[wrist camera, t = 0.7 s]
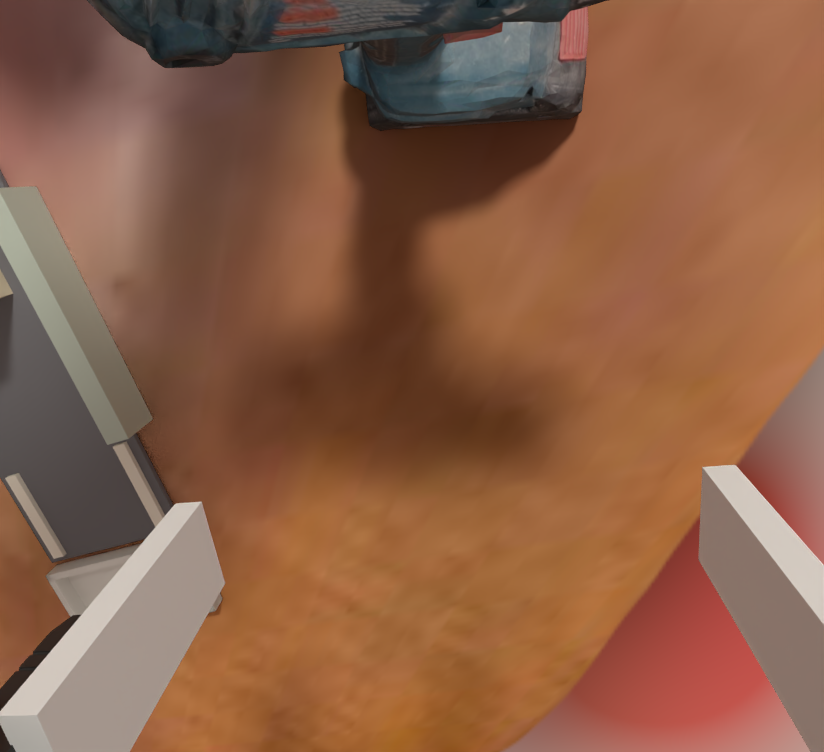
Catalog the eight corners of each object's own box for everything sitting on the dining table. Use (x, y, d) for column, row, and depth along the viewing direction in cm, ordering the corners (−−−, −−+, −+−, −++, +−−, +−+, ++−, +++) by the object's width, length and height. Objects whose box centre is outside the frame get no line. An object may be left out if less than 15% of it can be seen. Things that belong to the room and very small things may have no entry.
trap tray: (56, 564, 51) (45, 576, 49) (188, 531, 48) (179, 542, 47) (95, 627, 53) (84, 640, 52) (222, 598, 51) (215, 611, 49)
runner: (-152, 219, 42) (-163, 220, 41) (-6, 158, 40) (-15, 158, 39) (55, 559, 51) (48, 565, 50) (184, 526, 48) (179, 532, 48)
